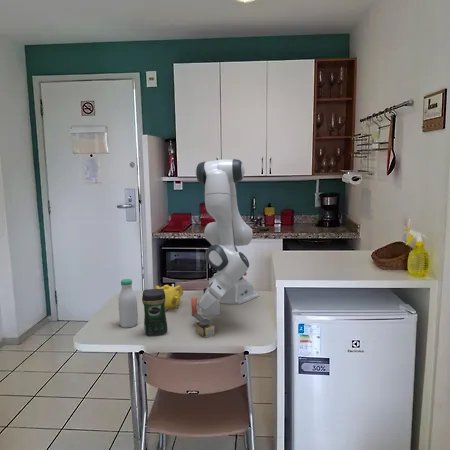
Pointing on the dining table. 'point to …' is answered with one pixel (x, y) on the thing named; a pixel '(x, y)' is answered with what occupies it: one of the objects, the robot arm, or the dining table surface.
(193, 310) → the lever
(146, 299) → the coffee jar
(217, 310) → the medicine bottle
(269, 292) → the dining table surface
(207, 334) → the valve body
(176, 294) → the teapot
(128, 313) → the milk bottle
